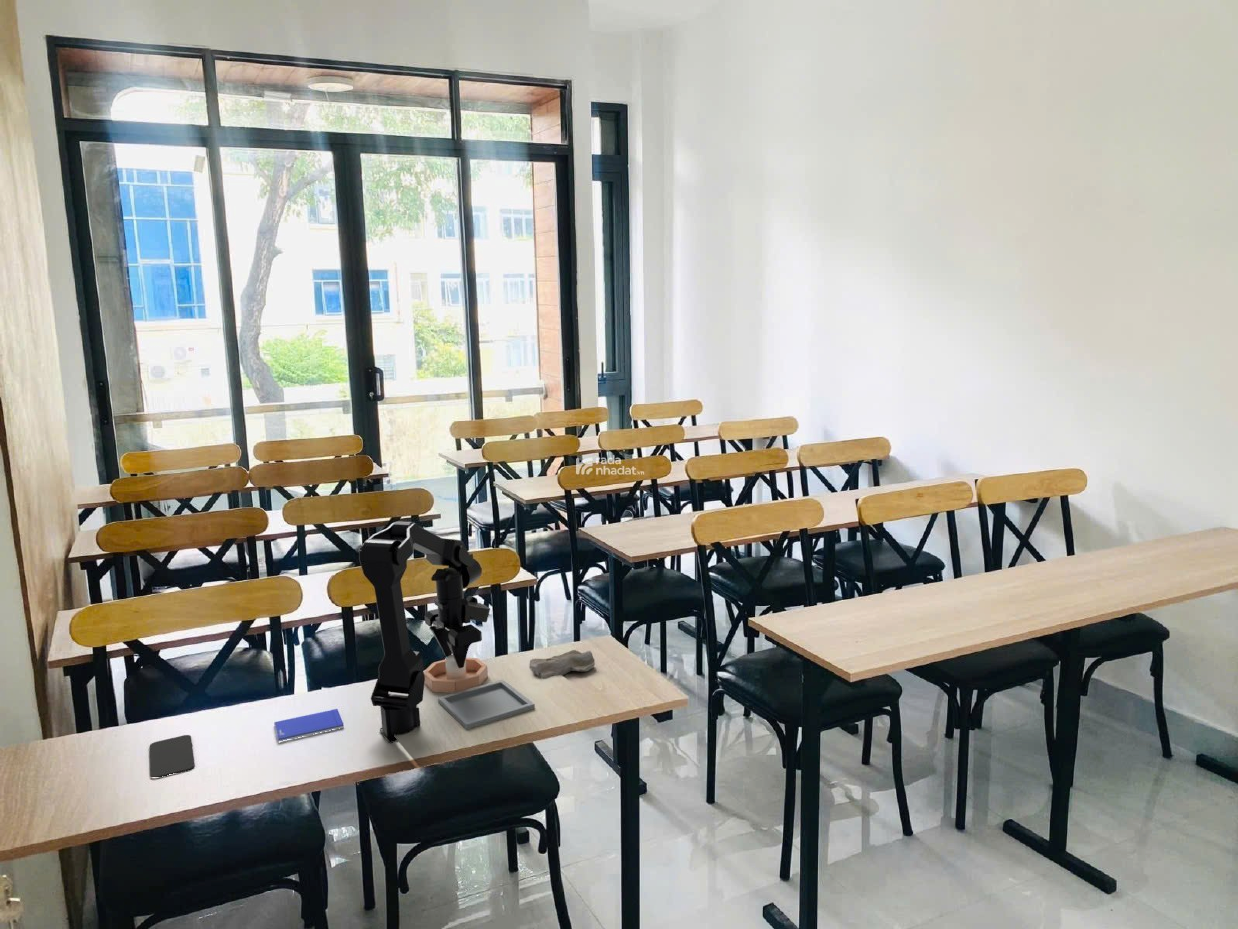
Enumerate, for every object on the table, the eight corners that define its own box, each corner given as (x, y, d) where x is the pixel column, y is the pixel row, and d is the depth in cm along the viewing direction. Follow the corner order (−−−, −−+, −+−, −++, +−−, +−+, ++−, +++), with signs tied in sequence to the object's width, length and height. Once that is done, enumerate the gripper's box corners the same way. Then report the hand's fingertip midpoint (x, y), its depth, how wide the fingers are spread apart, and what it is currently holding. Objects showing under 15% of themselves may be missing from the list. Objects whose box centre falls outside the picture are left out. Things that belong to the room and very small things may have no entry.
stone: (538, 686, 193) (537, 669, 192) (525, 671, 201) (524, 654, 201) (599, 673, 198) (599, 656, 198) (584, 659, 207) (583, 642, 206)
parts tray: (467, 734, 171) (466, 724, 171) (438, 706, 184) (438, 697, 183) (535, 713, 179) (534, 704, 179) (503, 688, 191) (502, 679, 191)
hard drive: (277, 738, 170) (343, 723, 175) (273, 721, 177) (337, 707, 182) (278, 745, 170) (344, 730, 176) (274, 728, 177) (337, 714, 183)
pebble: (451, 685, 191) (449, 663, 191) (443, 678, 195) (442, 657, 194) (469, 680, 194) (468, 659, 193) (461, 673, 197) (460, 652, 197)
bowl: (439, 702, 186) (438, 686, 185) (418, 681, 197) (417, 666, 196) (495, 686, 193) (494, 671, 192) (471, 667, 203) (470, 653, 203)
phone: (150, 778, 158) (149, 743, 171) (150, 782, 158) (149, 747, 171) (195, 767, 161) (190, 733, 174) (195, 771, 161) (191, 737, 174)
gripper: (502, 598, 187) (506, 667, 190) (467, 578, 203) (471, 641, 206) (453, 609, 182) (458, 680, 184) (421, 587, 197) (426, 653, 200)
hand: (454, 662), depth 194 cm, fingers open, 7 cm apart
